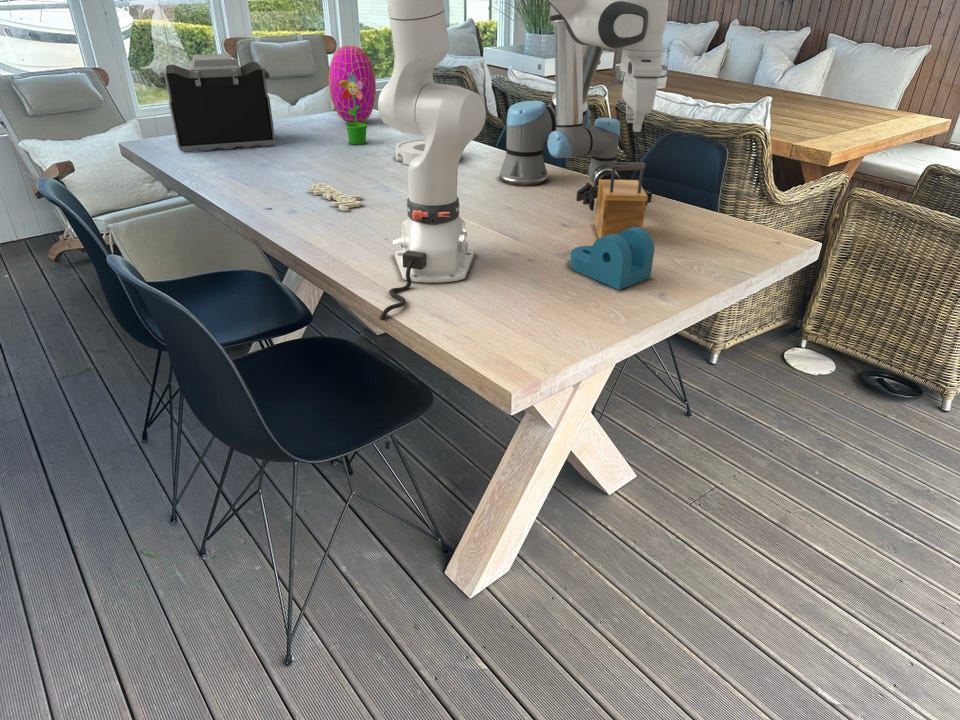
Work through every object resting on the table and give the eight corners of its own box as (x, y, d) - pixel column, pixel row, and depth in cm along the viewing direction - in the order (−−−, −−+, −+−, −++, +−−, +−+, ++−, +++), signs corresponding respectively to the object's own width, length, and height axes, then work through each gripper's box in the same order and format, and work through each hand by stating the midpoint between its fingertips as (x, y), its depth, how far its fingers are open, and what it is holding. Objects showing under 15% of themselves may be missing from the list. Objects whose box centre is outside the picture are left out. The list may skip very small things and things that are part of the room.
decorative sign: (374, 202, 196) (343, 208, 191) (374, 205, 197) (343, 211, 191) (331, 180, 214) (301, 186, 209) (332, 183, 215) (302, 189, 209)
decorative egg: (362, 116, 305) (357, 42, 290) (386, 123, 292) (382, 46, 277) (324, 121, 294) (316, 45, 279) (347, 129, 281) (340, 49, 266)
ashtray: (454, 167, 232) (454, 155, 230) (388, 164, 235) (387, 152, 233) (466, 151, 252) (466, 140, 250) (404, 148, 255) (404, 137, 253)
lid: (647, 201, 167) (651, 165, 163) (605, 200, 167) (609, 165, 163) (637, 184, 179) (641, 151, 174) (598, 184, 179) (601, 150, 175)
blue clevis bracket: (650, 277, 154) (656, 233, 149) (619, 289, 148) (624, 243, 143) (591, 254, 166) (595, 212, 161) (560, 264, 160) (563, 221, 155)
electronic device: (273, 133, 274) (261, 51, 258) (280, 146, 256) (268, 58, 241) (174, 140, 262) (156, 54, 247) (174, 153, 244) (155, 62, 229)
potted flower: (342, 144, 260) (336, 73, 247) (351, 139, 266) (346, 70, 254) (365, 146, 257) (360, 74, 245) (374, 141, 264) (369, 71, 251)
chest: (640, 243, 173) (646, 200, 168) (600, 242, 174) (604, 199, 168) (632, 226, 184) (637, 185, 179) (594, 225, 185) (598, 184, 179)
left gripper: (619, 57, 163) (613, 117, 170) (634, 69, 145) (626, 136, 152) (646, 57, 163) (638, 118, 170) (664, 69, 145) (654, 136, 152)
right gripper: (648, 196, 199) (664, 220, 181) (562, 194, 199) (569, 218, 181) (652, 170, 195) (668, 192, 177) (564, 168, 195) (571, 190, 177)
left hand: (633, 126), depth 161 cm, fingers open, 8 cm apart
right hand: (618, 205), depth 179 cm, fingers open, 13 cm apart
